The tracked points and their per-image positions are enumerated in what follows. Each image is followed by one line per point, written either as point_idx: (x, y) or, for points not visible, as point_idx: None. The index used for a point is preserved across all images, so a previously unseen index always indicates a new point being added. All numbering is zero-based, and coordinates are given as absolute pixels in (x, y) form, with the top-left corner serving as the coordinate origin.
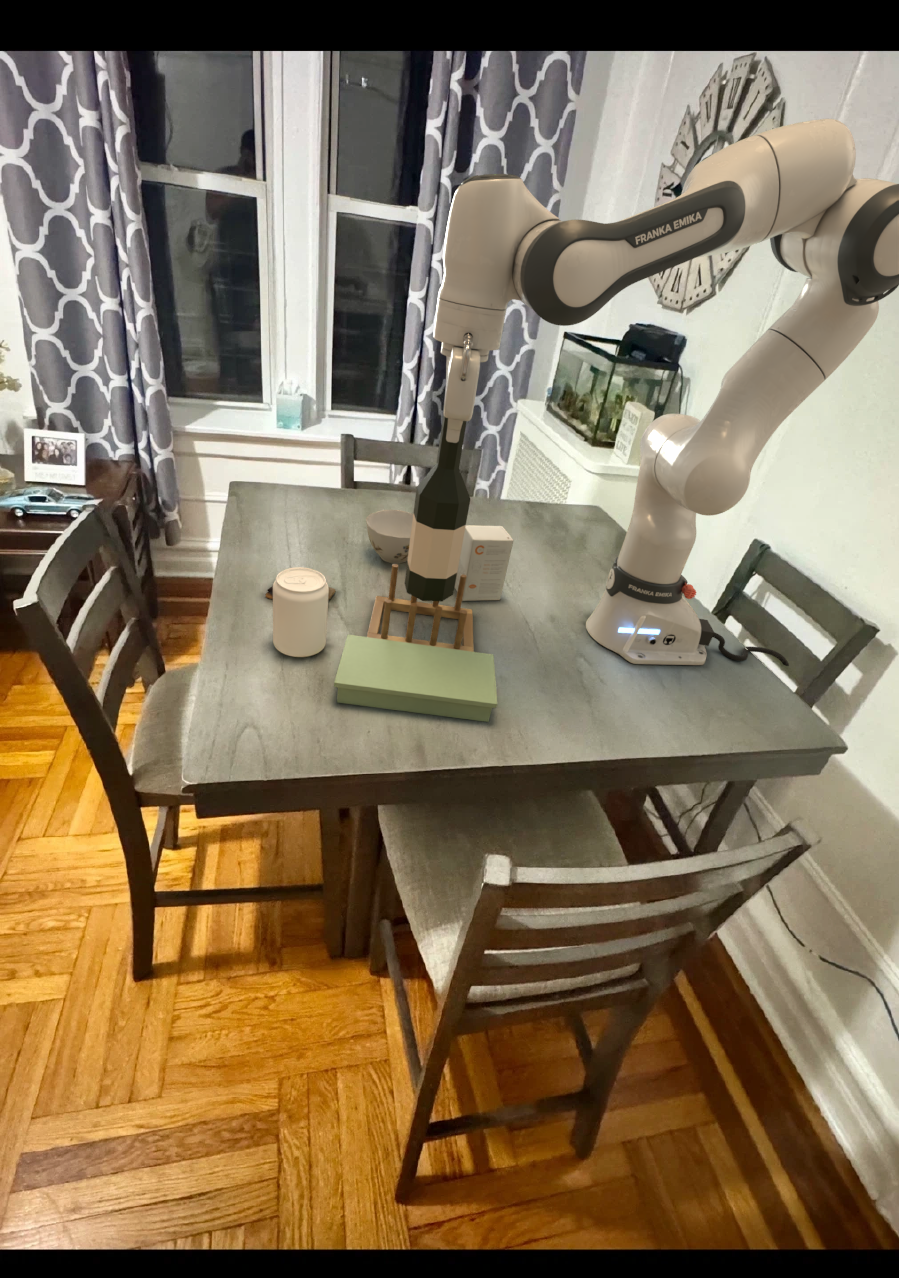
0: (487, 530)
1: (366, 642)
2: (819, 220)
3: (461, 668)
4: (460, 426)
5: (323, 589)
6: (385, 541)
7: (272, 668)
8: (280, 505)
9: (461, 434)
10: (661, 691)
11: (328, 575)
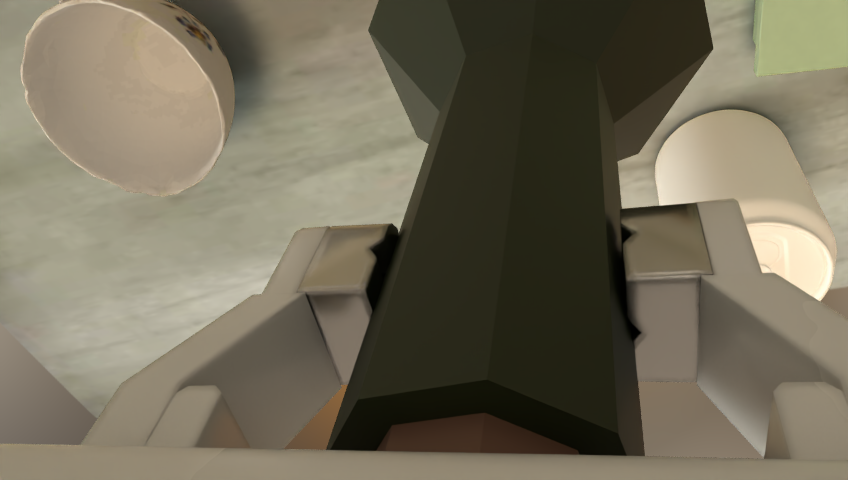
0: None
1: (793, 16)
2: None
3: None
4: (826, 316)
5: (781, 215)
6: (229, 110)
7: (828, 186)
8: (135, 349)
9: (568, 205)
10: None
11: (376, 185)
